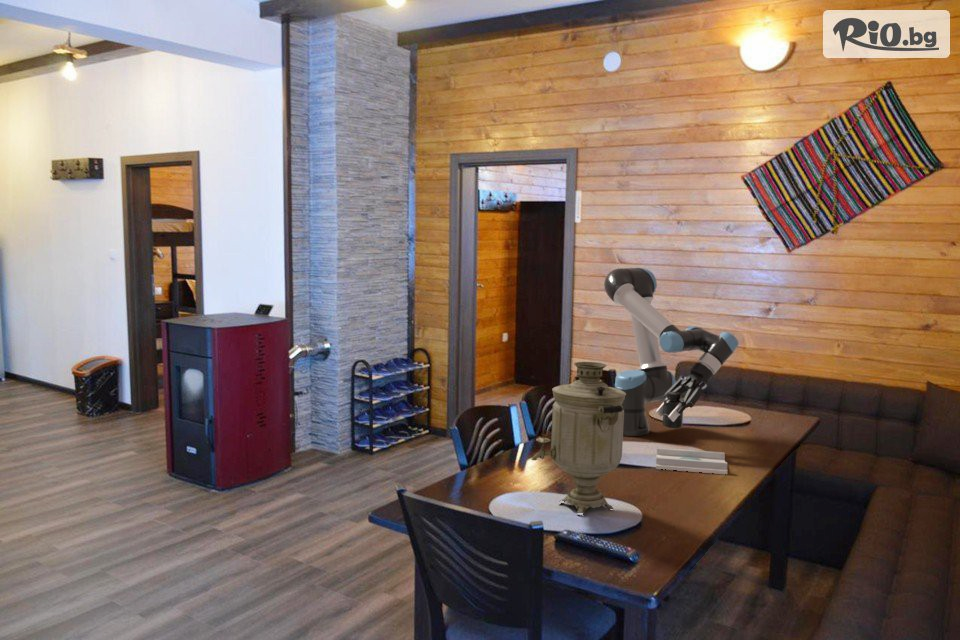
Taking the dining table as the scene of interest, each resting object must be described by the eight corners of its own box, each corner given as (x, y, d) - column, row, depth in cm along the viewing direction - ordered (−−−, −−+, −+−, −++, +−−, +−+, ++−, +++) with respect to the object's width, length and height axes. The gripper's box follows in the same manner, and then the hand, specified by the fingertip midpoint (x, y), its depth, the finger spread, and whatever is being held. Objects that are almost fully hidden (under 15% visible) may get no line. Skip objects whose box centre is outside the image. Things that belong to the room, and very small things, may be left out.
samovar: (521, 489, 218) (523, 356, 214) (608, 487, 220) (611, 355, 216) (536, 528, 189) (538, 373, 184) (636, 525, 190) (640, 373, 186)
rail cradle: (656, 469, 239) (656, 459, 238) (656, 455, 254) (657, 446, 254) (727, 474, 233) (727, 464, 233) (723, 460, 249) (724, 451, 248)
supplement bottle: (660, 427, 259) (661, 393, 258) (665, 422, 265) (666, 390, 264) (680, 429, 256) (681, 395, 255) (684, 425, 262) (685, 392, 261)
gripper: (729, 380, 255) (687, 430, 251) (693, 370, 273) (654, 416, 269) (717, 366, 252) (675, 416, 249) (682, 357, 271) (642, 403, 267)
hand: (664, 416), depth 259 cm, fingers closed on supplement bottle, 7 cm apart
